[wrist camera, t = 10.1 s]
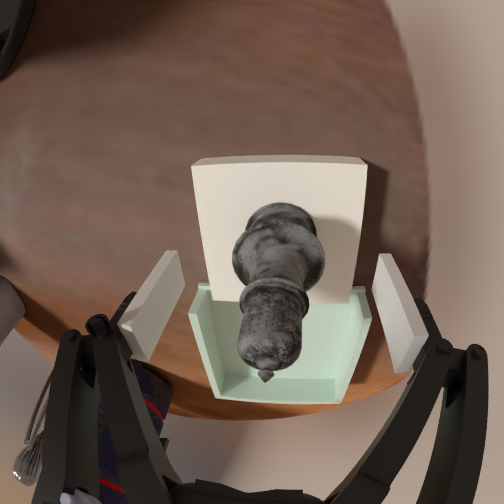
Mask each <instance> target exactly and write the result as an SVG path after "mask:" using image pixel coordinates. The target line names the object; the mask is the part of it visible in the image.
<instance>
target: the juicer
mask: <svg viewBox="0 0 504 504" xmlns="http://www.w3.org/2000/svg"><path fill="white" fill-rule="evenodd" d="M53 370H54V368H53ZM53 370H52V372H51V374H50V376H49V377H48V379H47V381H46V383H45V385H44V387H43V389H42V391H41V393H40V396H39V398H38V400H37V403H36V405H35V408H34V411H33V413H32V416H31V419H30V422H29V425H28V429H27V432H26V436H25V440H24V445H23V446H24V448H23V449H22V450H21V452H20V453H19V454H18V456H17V457H16V459H15V462H14V465H13V474H14V476H15V478H16V479H17V480H18V481H19V482H21V483H22V484H24V485H27V486H32V485H34V484H35V482H36V481H37V479H38V477H39V474H40V470H41V464H42V448H43V435H44V430H43V431H42V432H41V433H39V434H38V435H37V433H38V431H39V428H40V426H41V423H42V421H43V419H44V416H45V414H46V409H47V403H48V398H47V400H46V402H45V405H44V407H43V409H42V411H41V414H40V416H39V419H38V421H37V424H36V426H35V429H34V432H33V434H32V437H31V440H30V436H31V432H32V428H33V425H34V422H35V419H36V416H37V413H38V410H39V408H40V405H41V403H42V400H43V398H44V395H45V393H46V391H47V389H48V387H49V384H50V383H51V380H52V375H53Z"/></svg>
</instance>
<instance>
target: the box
mask: <svg viewBox="0 0 504 504" xmlns="http://www.w3.org/2000/svg"><path fill="white" fill-rule="evenodd" d="M198 288H199V289H198V292H197V294H196V296H195V298H194V301H193V303H192V305H191V308H190V310H189V312H188V314H189V318H190V321H191V325H192V328H193V332H194V335H195V338H196V342H197V345H198V348H199V351H200V354H201V357H202V360H203V364H204V367H205V370H206V373H207V376H208V378H209V381H210V384H211V387H212V390H213V393H214V396H215V398H219V399H228V400H237V401H248V402H261V403H280V404H336V403H341V402H342V400H343V397H344V395H345V392H346V390H347V388H348V385H349V383H350V380H351V378H352V375H353V373H354V370H355V367H356V365H357V362H358V359H359V357H360V354H361V351H362V348H363V345H364V342H365V339H366V336H367V333H368V330H369V327H370V324H371V321H372V316H371V312H370V308H369V305H368V301H367V298H366V294H365V290H366V289H365V286H352V289H351V294H350V299H349V304H309V310H308V313H307V314H306V316H305V317H304V319H302V349H301V352H300V355H299V358H298V359H297V360H296V361H295V362H294V363H293V364H292V365H291V366H289V367H288V368H286V369H283V370H278V371H273V373H274V377H272V378H271V379H270V380H269V381H267V382H266V383H264V382H263V380H261V379H260V377H259V376H258V371H260V370H258V369H255V368H253V367H251V366H249V365H248V364H246V363H245V362H244V361H243V360H242V358H241V357H240V355H239V353H238V347H237V343H238V337H239V332H240V328H241V323H242V319H243V313H242V312H241V309H240V306H239V302H237V301H217V300H213V298H212V293H211V288H210V283H200V282H199V285H198Z"/></svg>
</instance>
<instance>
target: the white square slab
mask: <svg viewBox="0 0 504 504" xmlns="http://www.w3.org/2000/svg"><path fill="white" fill-rule="evenodd" d="M191 169H192V176H193V183H194V191H195V198H196V204H197V211H198V218H199V224H200V230H201V236H202V242H203V248H204V254H205V260H206V266H207V271H208V277H209V282H210V288H211V293H212V298H213V300H217V301H237V302H239V298H240V295H241V293H242V291H243V289H244V288H245V287H246V286H245V285H244V284H243V283H242V282H241V281H240V280H239V278H238V277H237V275H236V274H235V272H234V268H233V265H232V252H233V249H234V246H235V243H236V241H237V240H238V238H239V237H240V236H241V234H242V233H243V232H245V228H246V225H247V222H248V220H249V218H250V217H251V216H252V214H253V213H254V212H255V211H257V210H258V209H259V208H261V207H263V206H265V205H268V204H271V203H279V202H281V203H290V204H292V205H295V206H298V207H300V208H301V209H302V210H304V211H305V212H307V213H308V215H309V216H310V217H311V218H312V220H313V222H314V224H315V227H316V232H317V239H318V240H319V241H320V243H321V245H322V248H323V250H324V253H325V268H324V272H323V275H322V276H321V278H320V280H319V281H318V283H317V284H316V285H315V286H313V287H312V288H311V289H310V290H309V291H307V292H306V293H307V295H308V298H309V304H349V299H350V294H351V289H352V284H353V278H354V273H355V267H356V261H357V255H358V248H359V242H360V235H361V227H362V219H363V210H364V201H365V191H366V179H367V164H366V163H365V162H364V161H362V160H361V159H360V158H359V157H345V156H321V155H255V156H231V157H214V158H202V159H200V160H199V161H197V162H196V163H195V164H193V165H192V166H191Z"/></svg>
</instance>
